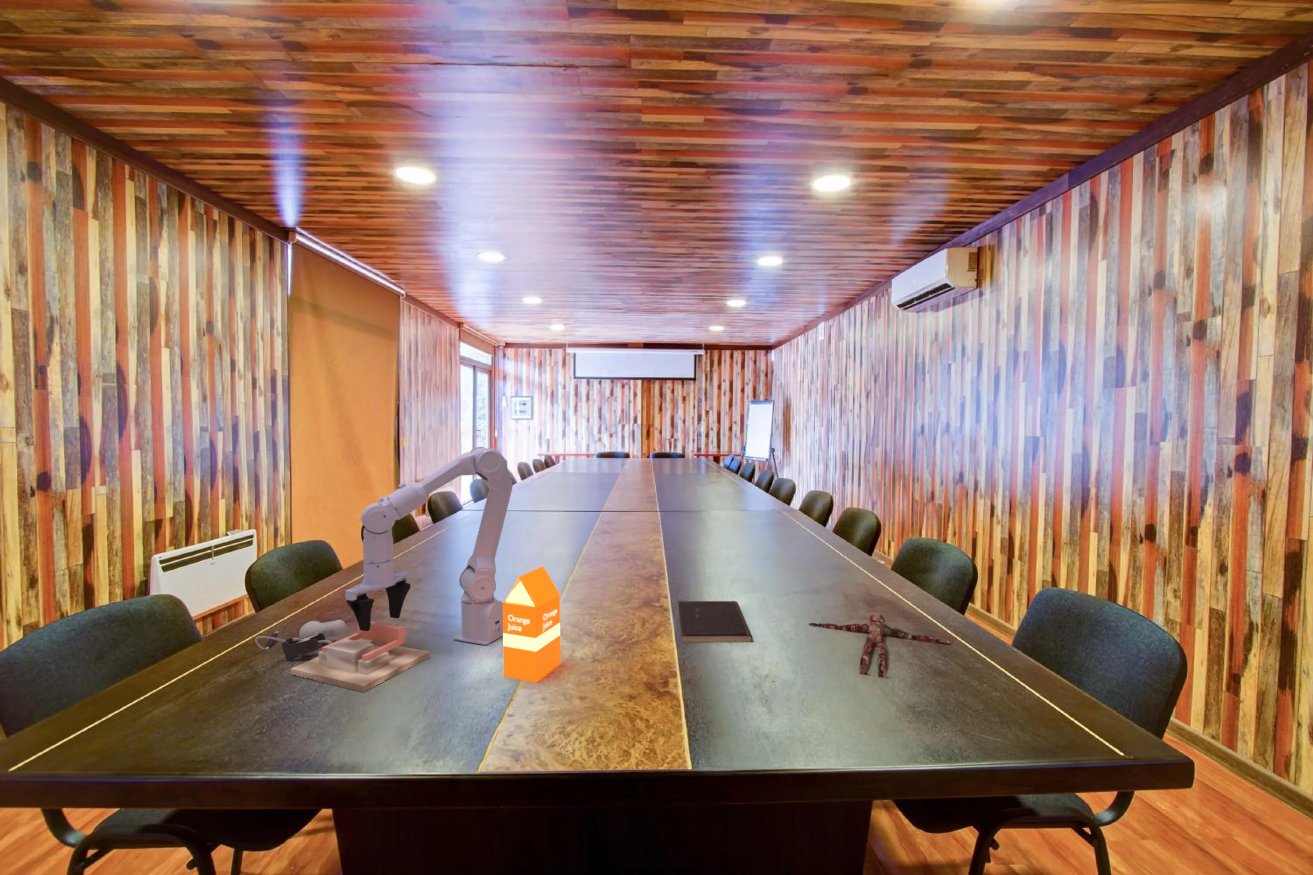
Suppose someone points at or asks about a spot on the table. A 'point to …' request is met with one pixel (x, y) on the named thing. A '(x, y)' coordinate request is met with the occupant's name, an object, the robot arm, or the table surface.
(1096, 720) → the table surface
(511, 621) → the orange juice
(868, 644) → the mannequin
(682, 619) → the hardcover book
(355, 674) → the architectural building model
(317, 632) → the clip-on lamp
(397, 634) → the u-shaped bracket
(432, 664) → the table surface
